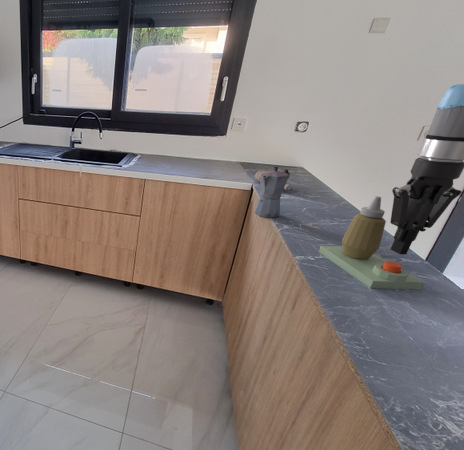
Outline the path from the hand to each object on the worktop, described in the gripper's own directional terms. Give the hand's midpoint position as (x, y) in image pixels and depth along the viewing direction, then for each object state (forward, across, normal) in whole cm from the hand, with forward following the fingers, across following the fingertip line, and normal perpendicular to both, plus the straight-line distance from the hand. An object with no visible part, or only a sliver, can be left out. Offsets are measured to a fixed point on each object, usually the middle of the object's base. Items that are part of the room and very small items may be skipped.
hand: (398, 251), depth 79 cm
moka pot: (+10, +5, -51) cm, 52 cm away
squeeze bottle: (+7, 0, -11) cm, 13 cm away
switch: (+6, 0, 0) cm, 6 cm away
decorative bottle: (+10, -17, -91) cm, 93 cm away
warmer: (+9, 0, -7) cm, 12 cm away
